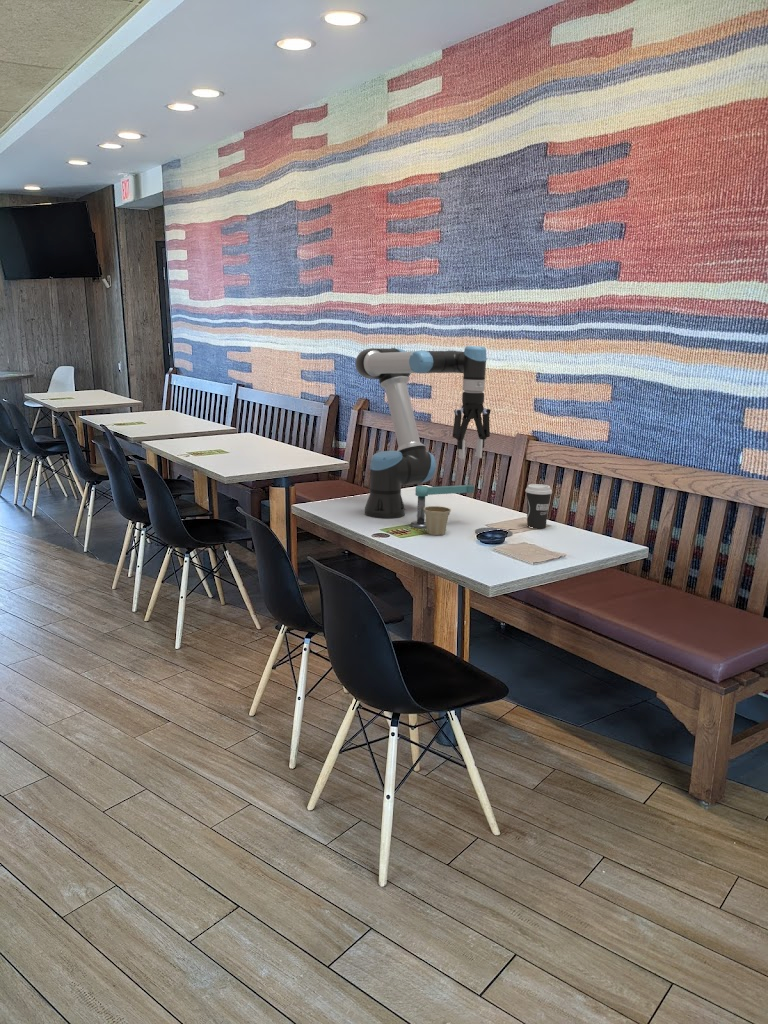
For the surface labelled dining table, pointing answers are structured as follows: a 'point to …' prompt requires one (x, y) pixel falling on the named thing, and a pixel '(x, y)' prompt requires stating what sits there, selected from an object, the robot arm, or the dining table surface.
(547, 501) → the coffee cup
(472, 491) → the teal paddle stick
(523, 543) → the dining table surface
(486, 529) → the pad
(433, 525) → the flower pot
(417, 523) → the grey pedestal stand
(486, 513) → the dining table surface
